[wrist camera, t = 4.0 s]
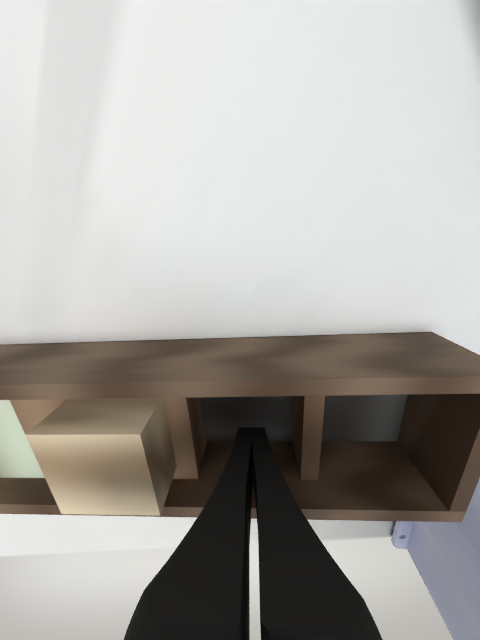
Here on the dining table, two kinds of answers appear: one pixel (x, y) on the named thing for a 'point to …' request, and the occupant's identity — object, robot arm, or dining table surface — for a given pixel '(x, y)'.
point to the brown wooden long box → (271, 417)
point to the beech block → (106, 455)
